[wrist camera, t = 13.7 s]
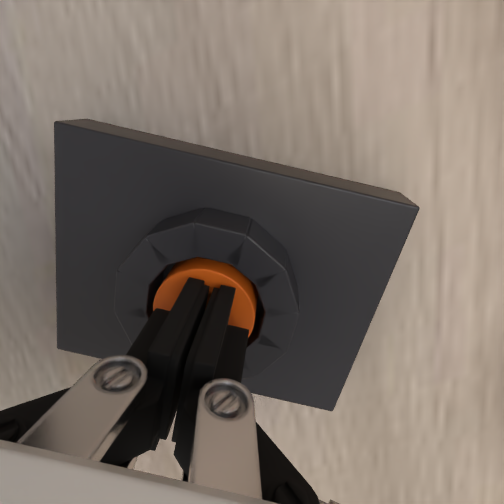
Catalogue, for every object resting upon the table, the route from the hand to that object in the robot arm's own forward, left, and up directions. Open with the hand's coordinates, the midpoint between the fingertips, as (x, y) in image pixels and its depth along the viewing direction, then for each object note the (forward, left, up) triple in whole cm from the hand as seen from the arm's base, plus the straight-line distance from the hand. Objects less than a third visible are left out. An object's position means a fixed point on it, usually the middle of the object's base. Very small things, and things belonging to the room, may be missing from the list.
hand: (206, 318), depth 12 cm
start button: (0, 0, -2) cm, 2 cm away
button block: (0, 0, -4) cm, 4 cm away
